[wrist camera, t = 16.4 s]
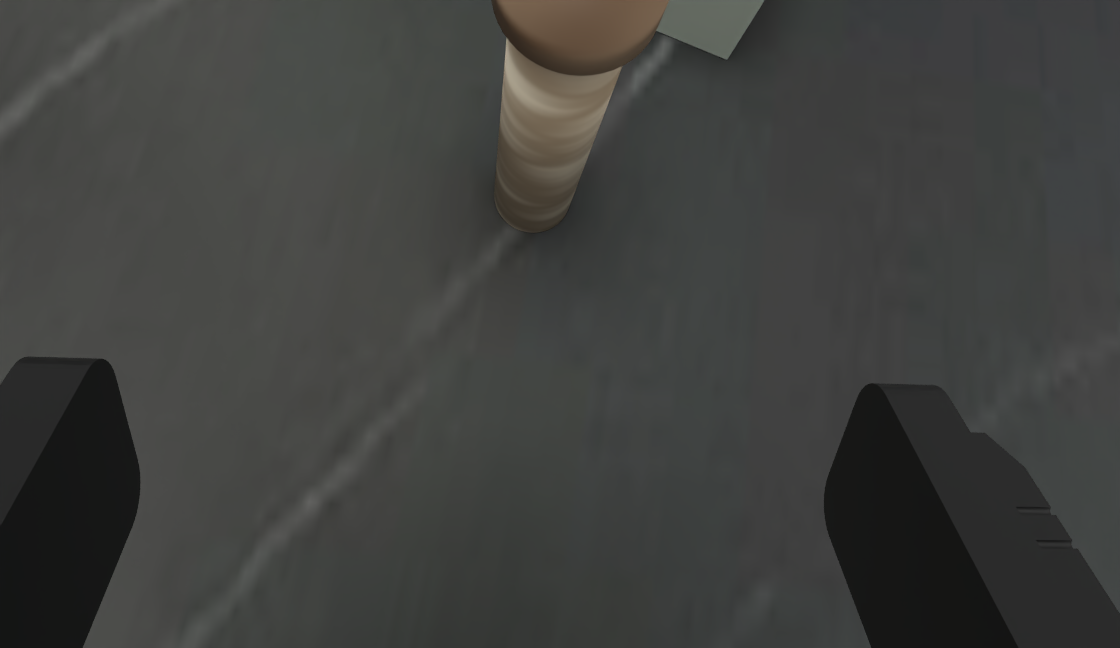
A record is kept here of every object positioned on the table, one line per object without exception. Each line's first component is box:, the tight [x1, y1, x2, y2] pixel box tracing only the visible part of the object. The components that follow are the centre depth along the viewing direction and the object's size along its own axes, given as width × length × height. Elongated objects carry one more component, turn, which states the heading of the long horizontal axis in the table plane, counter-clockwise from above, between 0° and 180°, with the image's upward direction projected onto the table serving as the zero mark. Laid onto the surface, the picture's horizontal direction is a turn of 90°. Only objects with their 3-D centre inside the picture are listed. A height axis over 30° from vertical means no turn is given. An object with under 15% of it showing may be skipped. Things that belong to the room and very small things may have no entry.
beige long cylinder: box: [492, 0, 669, 233], centre depth 31 cm, size 4×4×19 cm
